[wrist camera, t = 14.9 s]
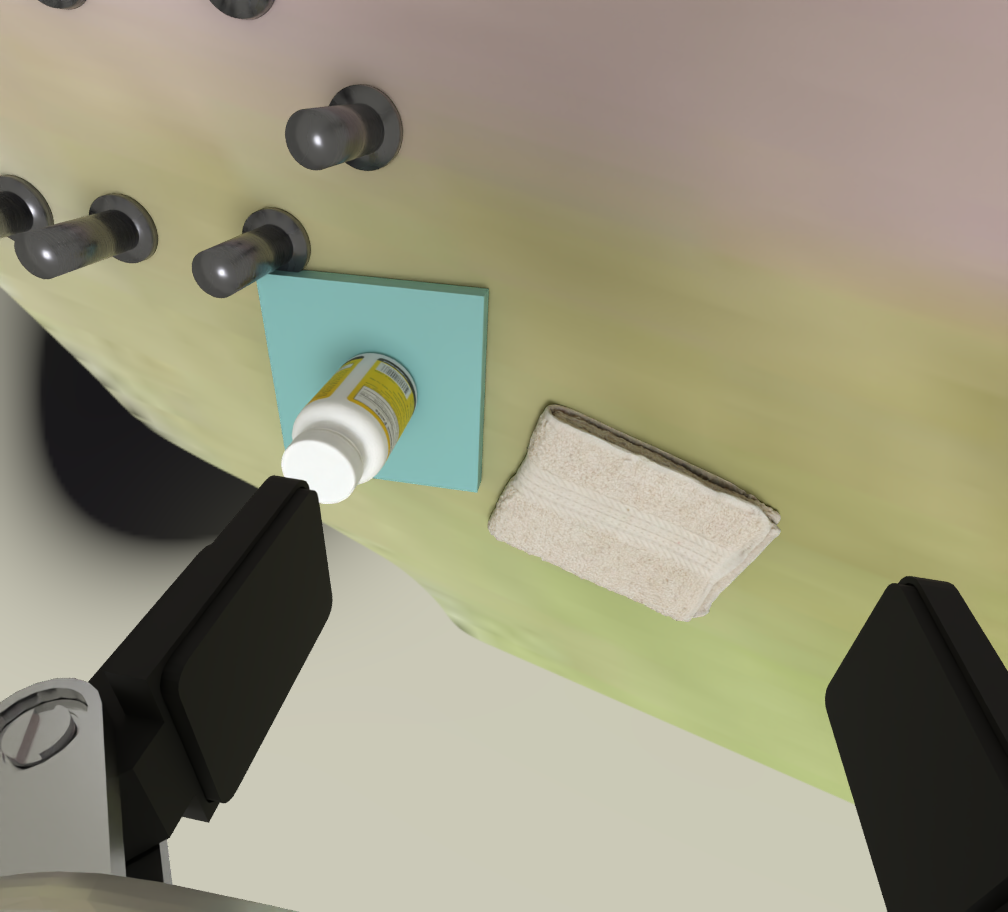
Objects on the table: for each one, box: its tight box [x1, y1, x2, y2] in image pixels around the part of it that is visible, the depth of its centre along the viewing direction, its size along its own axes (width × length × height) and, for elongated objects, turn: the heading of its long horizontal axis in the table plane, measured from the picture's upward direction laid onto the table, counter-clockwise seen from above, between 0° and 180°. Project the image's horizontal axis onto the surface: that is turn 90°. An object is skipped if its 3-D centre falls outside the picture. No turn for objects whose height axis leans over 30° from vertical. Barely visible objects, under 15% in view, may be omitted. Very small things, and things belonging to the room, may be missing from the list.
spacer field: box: [0, 0, 403, 298], centre depth 31 cm, size 17×27×7 cm, turn 87°
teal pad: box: [257, 270, 489, 492], centre depth 40 cm, size 14×14×2 cm
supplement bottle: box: [281, 353, 417, 504], centre depth 35 cm, size 5×5×10 cm
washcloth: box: [488, 405, 781, 622], centre depth 42 cm, size 12×18×3 cm, turn 68°
